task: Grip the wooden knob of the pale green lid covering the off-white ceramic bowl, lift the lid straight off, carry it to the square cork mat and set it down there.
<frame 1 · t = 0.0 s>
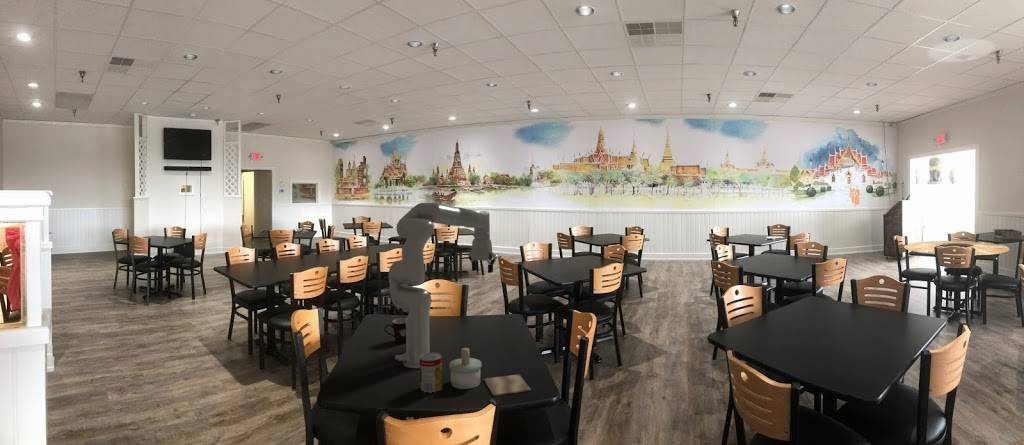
hand: (482, 271, 233), 31 cm above the table, tool pointing down, fingers open, 9 cm apart
lid: (465, 366, 178), point 6 cm above the table, touching bowl
coffee mug: (399, 341, 225), on the table
mat: (506, 385, 176), on the table
canned food: (431, 388, 174), on the table
bowl: (465, 382, 178), on the table
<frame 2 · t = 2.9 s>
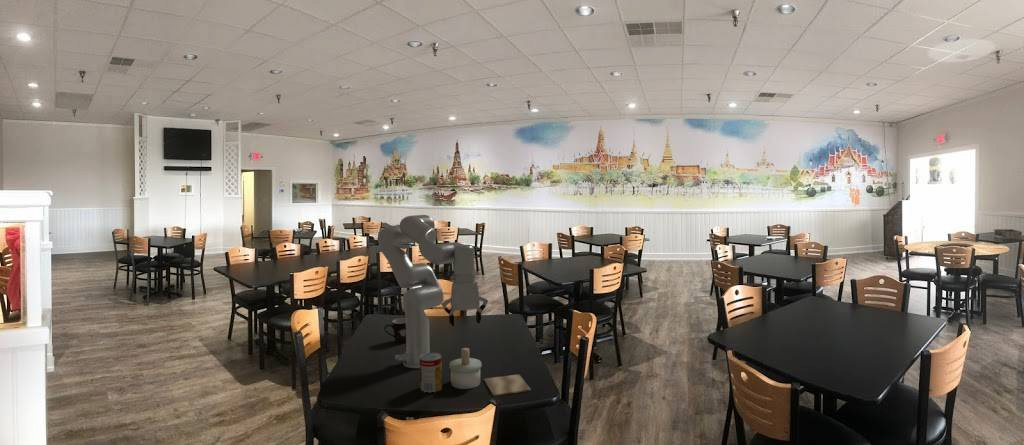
hand: (465, 323, 177), 22 cm above the table, tool pointing down, fingers open, 9 cm apart
nothing on the table moved.
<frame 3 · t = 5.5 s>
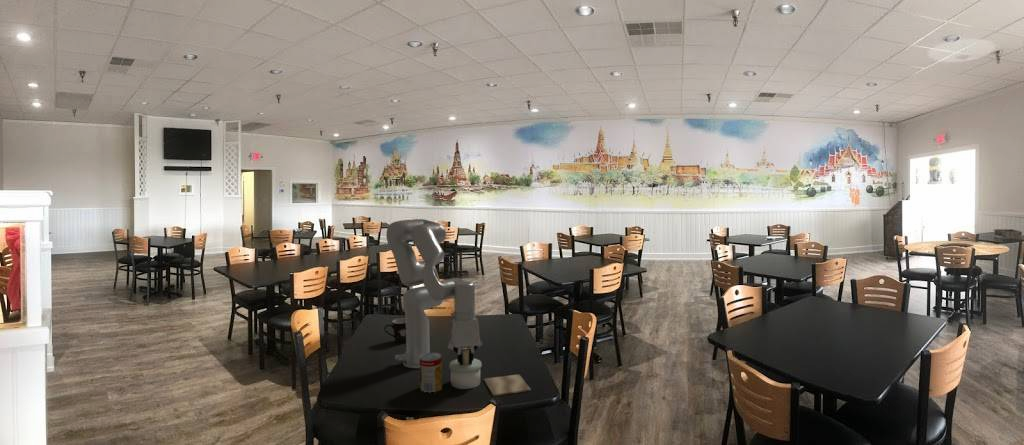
hand: (465, 362, 178), 8 cm above the table, tool pointing down, fingers closed on lid, 3 cm apart
lid: (465, 366, 178), point 6 cm above the table, touching bowl, gripper
everything else where it was.
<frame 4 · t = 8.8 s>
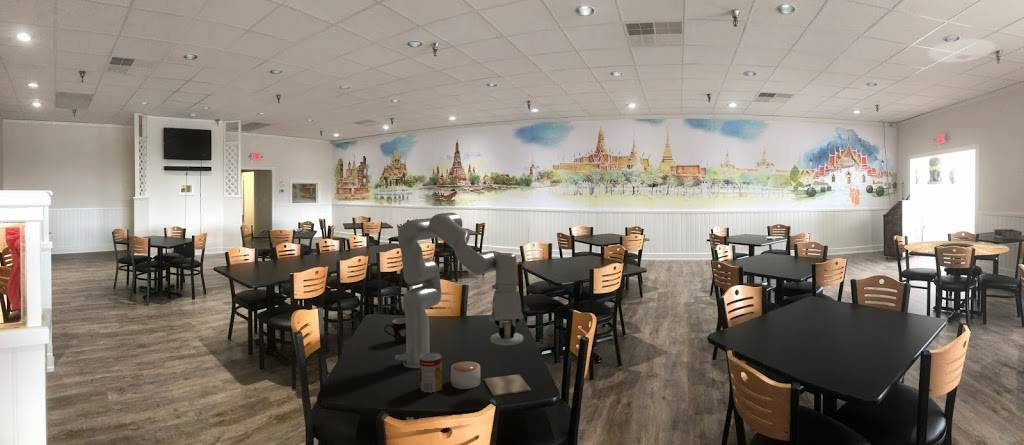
hand: (506, 336, 174), 19 cm above the table, tool pointing down, fingers closed on lid, 3 cm apart
lid: (506, 339, 174), point 17 cm above the table, touching gripper
everything else where it was.
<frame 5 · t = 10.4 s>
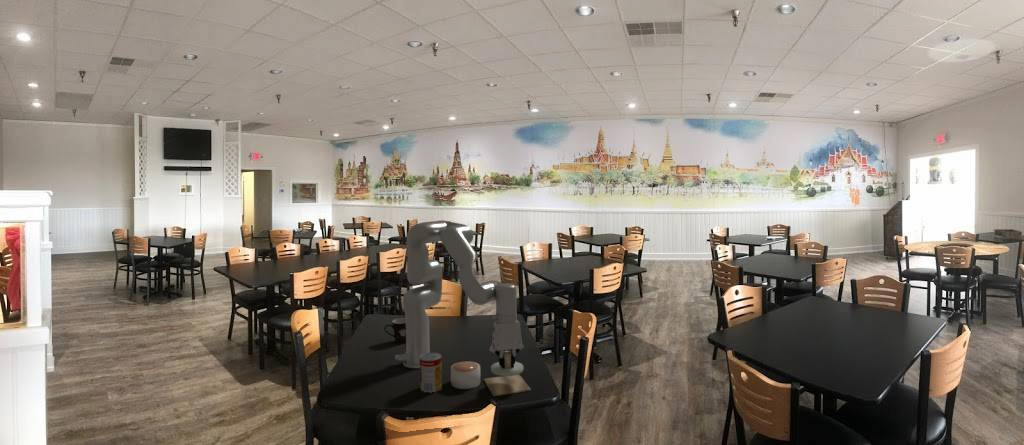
hand: (507, 366, 175), 7 cm above the table, tool pointing down, fingers closed on lid, 3 cm apart
lid: (507, 369, 175), point 6 cm above the table, touching gripper
everything else where it was.
when the fingers open (3 cm above the table, at t = 12.0 s): lid drops 1 cm, resting on mat.
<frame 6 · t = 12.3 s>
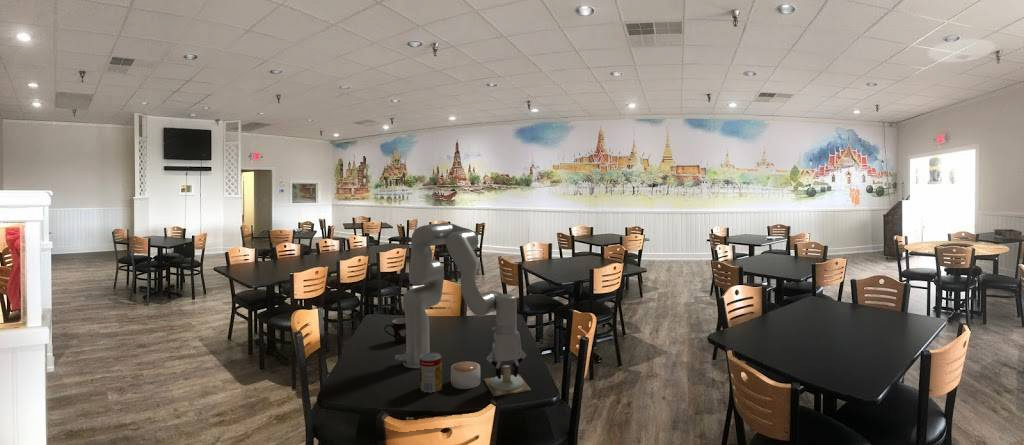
hand: (506, 376, 175), 4 cm above the table, tool pointing down, fingers open, 5 cm apart
lid: (506, 383, 176), point 1 cm above the table, touching mat
everything else where it was.
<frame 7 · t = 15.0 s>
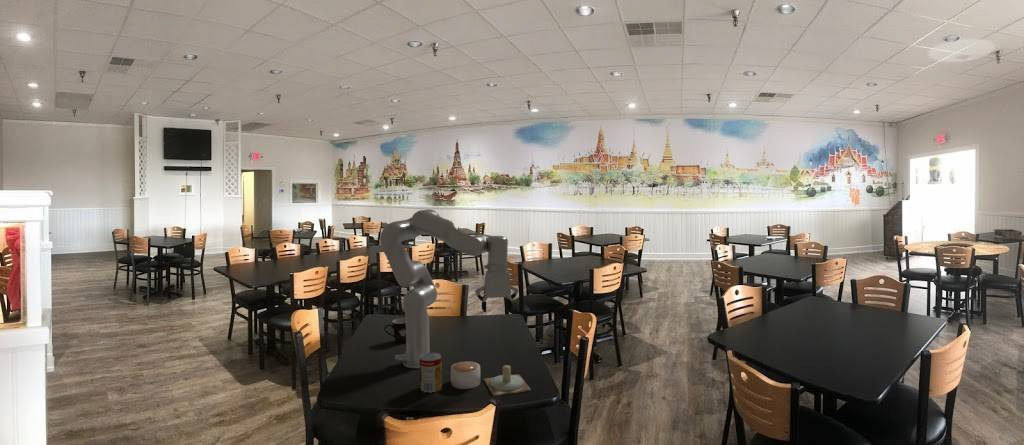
hand: (496, 310, 187), 25 cm above the table, tool pointing down, fingers open, 9 cm apart
nothing on the table moved.
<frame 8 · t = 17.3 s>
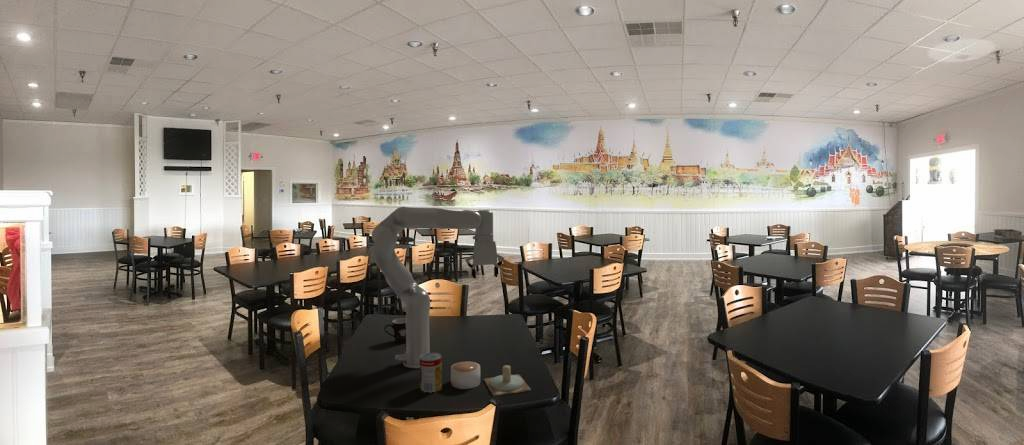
hand: (485, 277, 208), 33 cm above the table, tool pointing down, fingers open, 9 cm apart
nothing on the table moved.
at the end: lid inside the target area on the mat (0.1 cm from its centre), point 0.6 cm above the mat's base; lid touching mat; lid tilted 0° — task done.
